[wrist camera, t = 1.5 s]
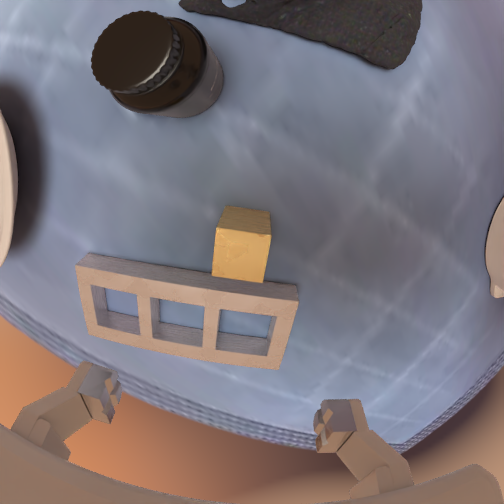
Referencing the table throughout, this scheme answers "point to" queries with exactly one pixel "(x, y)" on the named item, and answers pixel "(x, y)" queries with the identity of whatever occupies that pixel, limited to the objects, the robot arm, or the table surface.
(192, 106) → the supplement bottle
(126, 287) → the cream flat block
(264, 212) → the golden yellow block
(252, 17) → the dark slate chunk
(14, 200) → the soup bowl
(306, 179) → the table surface
